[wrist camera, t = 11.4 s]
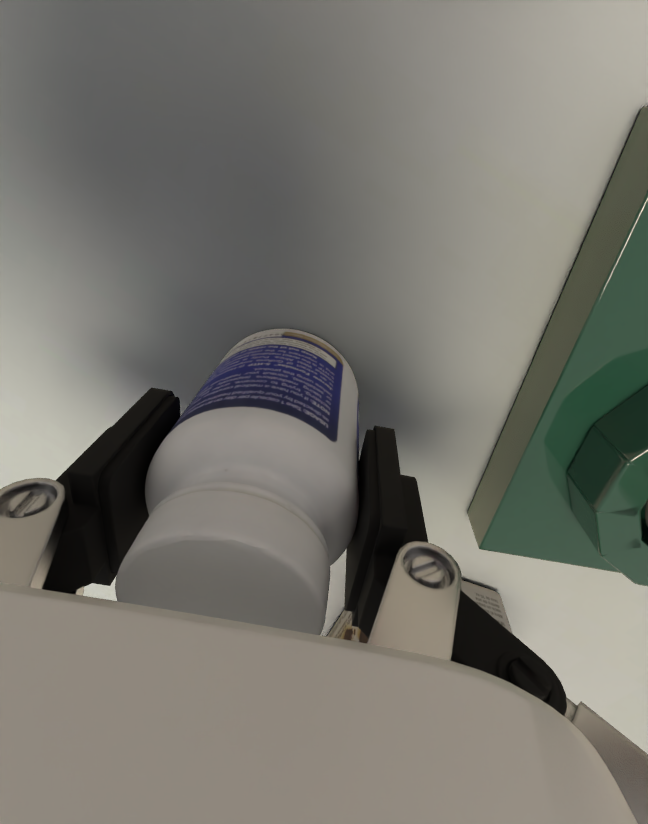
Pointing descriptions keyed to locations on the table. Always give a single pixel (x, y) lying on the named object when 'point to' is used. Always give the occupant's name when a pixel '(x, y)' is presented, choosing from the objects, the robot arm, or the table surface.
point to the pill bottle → (253, 489)
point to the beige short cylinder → (646, 513)
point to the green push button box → (584, 404)
